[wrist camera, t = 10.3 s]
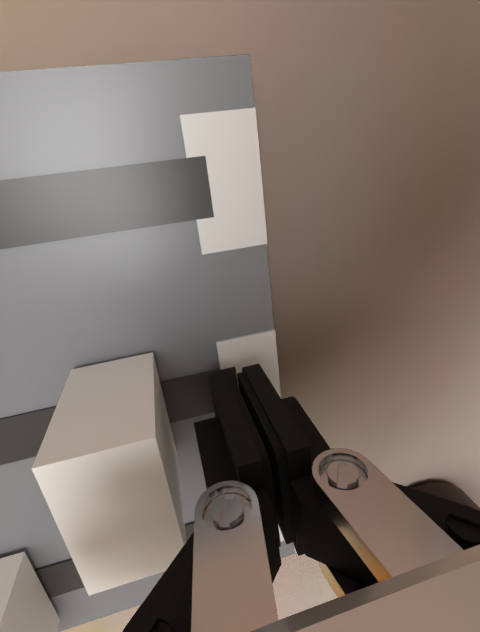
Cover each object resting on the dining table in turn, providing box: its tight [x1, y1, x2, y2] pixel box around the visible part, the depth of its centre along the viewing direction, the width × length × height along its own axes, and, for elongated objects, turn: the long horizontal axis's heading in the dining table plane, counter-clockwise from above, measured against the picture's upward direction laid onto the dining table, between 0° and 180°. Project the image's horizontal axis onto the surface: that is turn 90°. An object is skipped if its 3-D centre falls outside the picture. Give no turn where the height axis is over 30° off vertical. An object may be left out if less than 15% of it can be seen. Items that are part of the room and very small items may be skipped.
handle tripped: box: [32, 352, 186, 596], centre depth 10 cm, size 2×4×4 cm, turn 7°
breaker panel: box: [0, 54, 294, 632], centre depth 12 cm, size 14×19×2 cm
